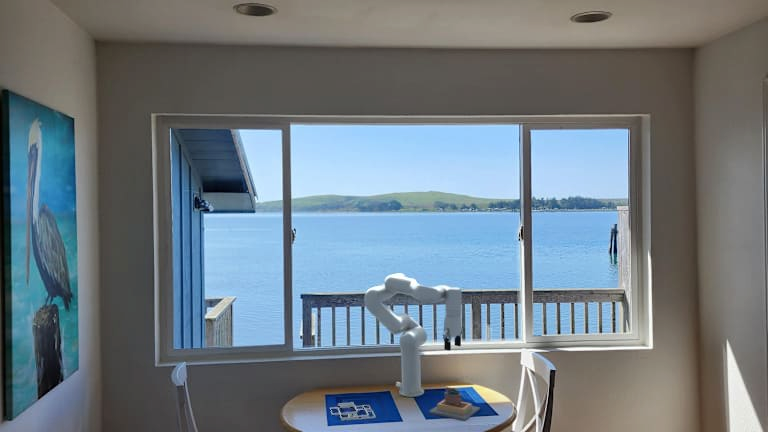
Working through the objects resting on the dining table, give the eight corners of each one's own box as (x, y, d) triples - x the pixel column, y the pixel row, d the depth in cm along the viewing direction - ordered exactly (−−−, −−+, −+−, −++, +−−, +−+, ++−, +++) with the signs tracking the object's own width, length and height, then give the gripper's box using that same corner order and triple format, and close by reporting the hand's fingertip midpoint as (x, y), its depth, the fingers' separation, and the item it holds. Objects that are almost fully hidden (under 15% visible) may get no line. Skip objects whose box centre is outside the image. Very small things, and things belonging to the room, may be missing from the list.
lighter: (462, 409, 269) (462, 388, 268) (460, 412, 266) (459, 390, 265) (446, 407, 272) (445, 385, 272) (443, 409, 269) (443, 387, 269)
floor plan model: (316, 409, 277) (316, 405, 277) (368, 404, 282) (368, 400, 282) (319, 424, 259) (319, 419, 258) (375, 419, 263) (375, 414, 263)
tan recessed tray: (428, 413, 268) (428, 405, 268) (445, 402, 281) (444, 395, 281) (464, 420, 258) (464, 412, 258) (479, 409, 271) (479, 402, 271)
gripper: (455, 308, 292) (454, 342, 293) (437, 314, 279) (436, 350, 279) (468, 310, 288) (468, 345, 289) (450, 316, 274) (450, 353, 275)
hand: (452, 347), depth 284 cm, fingers open, 9 cm apart
